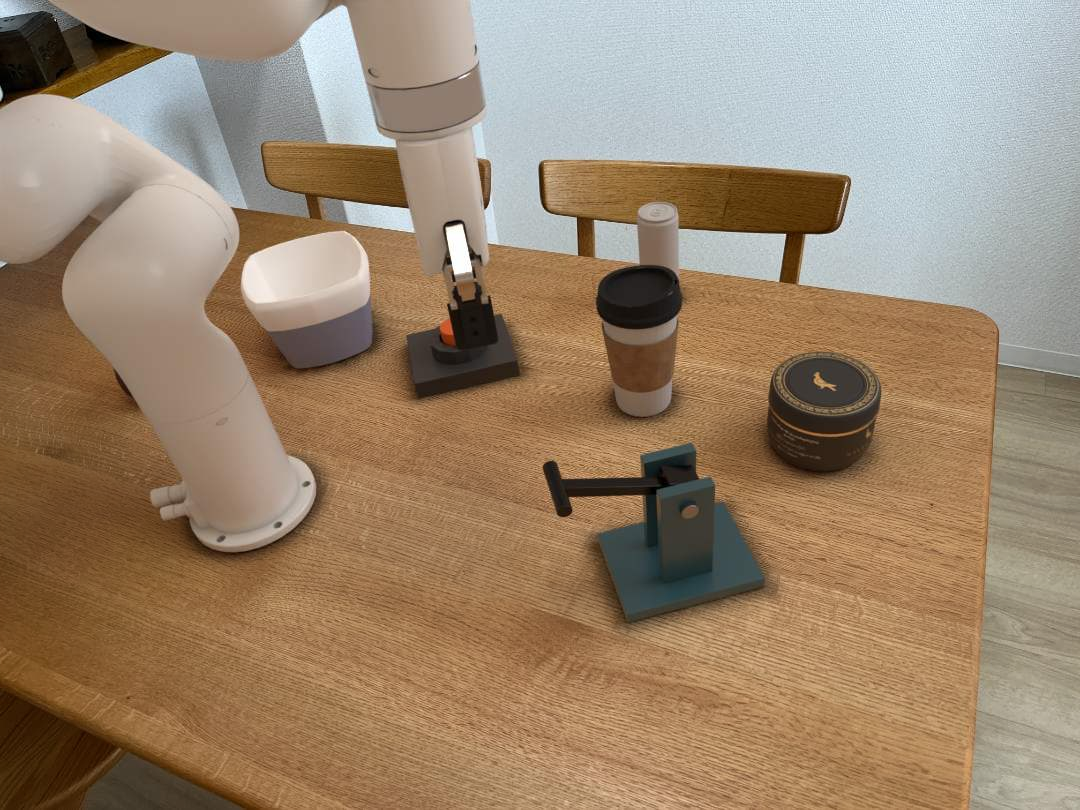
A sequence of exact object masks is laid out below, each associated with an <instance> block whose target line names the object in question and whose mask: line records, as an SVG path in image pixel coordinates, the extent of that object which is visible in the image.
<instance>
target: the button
mask: <svg viewBox="0 0 1080 810" xmlns="http://www.w3.org/2000/svg"><path fill="white" fill-rule="evenodd" d="M439 326H440V333H441V337H442V341H443V343H444V344H446V345H450V346H456V343H455V339H454V335H453V330H452V326H451V321H450V317H449V318H447V319H445V320H443V321H442V322H441V324H440V325H439Z"/></svg>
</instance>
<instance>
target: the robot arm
mask: <svg viewBox="0 0 1080 810" xmlns="http://www.w3.org/2000/svg"><path fill="white" fill-rule="evenodd" d="M48 1H49V2H50V3H51V4H52V5H55V7H56V8H58V9H60V10H61V11H63V12H65V13H66V14H68V15H70V16H71V17H73V18H75V19H76V20H77V21H79V22H81V23H83V24H84V25H87V26H88V27H90V28H92V29H94V30H95V31H98V32H100V33H103V34H105V35H108V36H110V37H113V38H117V39H119V40H122V41H125V42H129V43H132V44H137V45H140V46H144V47H151V48H155V49H159V50H164V51H169V52H174V53H178V54H183V55H188V56H193V57H197V58H203V59H209V60H214V61H224V62H234V63H235V62H236V63H243V62H244V63H248V62H260V61H265V60H269V59H271V58H274V57H277V56H280V55H281V54H284V53H285V52H287V51H288V50H289V49H291V48H292V47H293V46H294V45H295V44H296V43H297V42H298V41H299V40H300V39H301V38H302V37H303V36H304V34H306V32H307V31H308V30H309V29H310V28H311V27H312V25H313V24H314V23H315V22H317V21H318V20H320V19H321V18H324V16H326V15H328V14H329V13H331V12H332V11H334V10H335V9H338V8H339V7H345V8H346V10H347V14H348V18H349V21H350V25H351V29H352V33H353V38H354V42H355V46H356V49H357V54H358V58H359V62H360V65H361V70H362V74H363V78H364V82H365V85H366V89H367V93H368V98H369V101H370V105H371V110H372V115H373V119H374V122H375V127H376V131H377V132H378V133H379V134H380V135H382V136H383V137H386V138H388V139H391V140H394V141H395V147H396V153H397V159H398V164H399V170H400V174H401V178H402V183H403V189H404V192H405V196H406V202H407V204H408V209H409V214H410V218H411V223H412V227H413V232H414V235H415V240H416V244H417V248H418V253H419V258H420V262H421V268H422V271H423V274H424V275H425V276H427V277H429V278H433V277H434V276H436V275H441V273H442V274H443V278H444V282H445V287H446V291H447V296H448V302H447V303H446V307H447V311H448V312H447V313H448V316H449V318H450V321H451V326H452V330H453V335H454V339H455V343H456V348H457V349H458V350H466V349H471V348H476V347H481V346H487V345H492V344H495V343H497V342H498V335H497V329H496V324H495V318H494V315H495V313H494V307H493V302H492V297H491V294H489V295H488V292H487V287H486V282H485V278H484V272H483V268H485V266H486V265H487V264H488V263H489V262H490V253H489V243H488V229H487V221H486V211H485V205H484V204H485V203H484V197H483V196H484V195H483V190H482V182H481V176H480V169H479V162H478V156H477V149H476V143H475V139H474V138H475V137H474V133H473V132H474V131H473V127H474V126H476V125H477V124H479V123H480V122H481V121H483V119H484V118H485V116H486V115H487V113H488V108H487V103H486V97H485V96H486V95H485V89H484V83H483V77H482V69H481V63H480V56H479V50H478V45H477V37H476V31H475V25H474V24H475V23H474V19H473V18H474V17H473V12H472V6H471V0H48ZM88 216H90V217H91V218H93V219H95V220H97V221H99V222H100V223H101V224H99V226H97V228H96V229H95V230H94V231H93V232H92V233H91V234H90V235H89V236H88V237H87V238H86V239H85V240H84V241H83V242H82V244H81V245H80V246H79V248H77V250H76V251H75V252H74V254H73V256H72V257H71V259H70V261H69V262H68V264H67V266H66V268H65V272H64V275H63V277H62V284H61V295H62V301H63V305H64V308H65V310H66V313H67V314H68V316H69V318H70V320H71V321H72V322H73V323H74V325H75V326H76V328H77V329H78V330H79V331H80V332H81V333H82V334H83V336H84V337H85V338H87V340H88V341H89V342H90V343H91V344H92V345H93V346H94V347H95V348H96V349H97V350H98V351H99V352H100V353H101V355H102V356H103V357H104V358H105V359H106V360H107V361H108V363H109V364H110V365H111V366H112V368H113V370H114V369H115V370H116V371H117V373H118V374H119V376H120V377H121V379H122V380H123V382H124V383H125V385H126V386H127V388H128V389H129V391H130V393H131V394H132V396H133V397H134V398H133V397H132V398H133V399H134V401H135V402H136V404H137V406H138V407H139V409H140V411H141V413H142V414H143V416H144V417H145V419H146V420H147V422H148V423H149V426H150V427H151V429H152V430H153V432H154V434H155V435H156V437H157V439H158V441H159V442H160V444H161V446H162V447H163V450H164V451H165V453H166V455H167V456H168V457H169V460H170V461H171V463H172V464H173V466H174V468H175V470H176V471H177V474H178V475H179V476H180V478H181V483H177V484H174V485H166V486H162V487H161V486H160V487H157V488H153V489H151V490H150V493H149V498H150V502H151V504H152V507H154V509H158V508H159V514H160V518H161V519H162V521H163V522H166V521H169V520H173V519H178V518H179V517H183V516H186V517H188V518H189V525H190V527H191V530H192V532H193V533H194V535H195V537H196V538H197V540H198V541H199V542H201V543H202V544H203V545H204V546H205V547H208V548H210V549H211V550H214V551H219V552H223V553H239V552H241V553H242V552H247V551H251V550H255V549H260V548H261V547H265V546H267V545H269V544H272V543H273V542H275V541H277V540H279V539H281V538H283V537H285V536H286V535H287V534H288V533H290V532H291V531H292V530H294V529H295V528H296V527H297V526H298V525H299V524H301V522H302V521H303V520H304V519H305V517H306V516H307V515H308V514H309V512H310V510H311V508H312V506H313V505H314V502H315V499H316V496H317V482H316V479H315V476H314V474H313V472H312V470H311V468H310V467H309V466H308V465H307V464H306V462H304V461H302V460H301V459H299V458H298V457H295V456H292V455H288V454H287V452H286V450H285V448H284V445H283V443H282V441H281V439H280V437H279V435H278V432H277V430H276V428H275V426H274V424H273V421H272V420H271V417H270V415H269V413H268V411H267V408H266V406H265V404H264V402H263V400H262V397H261V395H260V393H259V391H258V388H257V387H256V384H255V382H254V380H253V377H252V375H251V373H250V371H249V369H248V367H247V366H246V363H245V361H244V359H243V356H242V355H241V352H240V351H239V349H238V347H237V346H236V344H235V342H234V341H233V339H231V337H230V336H229V335H228V334H227V333H225V332H224V331H223V330H222V329H221V328H219V327H218V326H216V325H214V324H213V322H211V320H210V319H209V318H208V316H207V314H206V311H205V305H206V301H207V299H208V297H209V296H210V294H211V292H212V291H213V289H214V287H215V285H216V284H217V282H218V281H219V280H220V278H221V277H222V275H223V273H224V272H225V271H226V269H227V268H228V266H229V264H230V262H232V259H233V257H234V256H235V254H236V252H237V249H238V246H239V242H240V226H239V223H238V219H237V216H236V214H235V212H234V210H233V209H232V207H231V205H230V204H229V203H228V202H227V200H226V199H225V198H224V197H223V196H222V195H221V193H219V192H218V190H216V189H215V188H214V187H213V186H211V185H210V184H209V183H208V182H207V181H205V180H203V178H201V177H199V176H198V175H197V174H196V173H194V172H193V171H191V170H189V169H188V168H187V167H185V166H184V165H182V164H180V163H179V162H177V161H176V160H174V159H173V158H171V157H170V156H168V155H167V154H165V153H164V152H163V151H161V150H159V149H158V148H156V147H154V146H153V145H152V144H150V143H149V142H147V141H146V140H144V139H143V138H141V137H139V136H138V135H137V134H135V133H134V132H132V131H130V130H129V129H128V128H126V127H125V126H123V125H122V124H120V123H119V122H117V121H115V120H114V119H113V118H111V117H110V116H108V115H106V114H105V113H103V112H101V111H100V110H98V109H96V108H94V107H92V106H90V105H88V104H86V103H84V102H81V101H78V100H76V99H72V98H69V97H66V96H62V95H57V94H49V93H48V94H47V93H38V94H30V95H26V96H22V97H20V98H17V99H15V100H13V101H11V102H9V103H8V104H6V105H4V106H3V107H1V108H0V262H1V263H5V264H10V265H21V264H28V263H31V262H34V261H36V260H39V259H40V258H42V257H44V256H45V255H47V254H48V253H49V252H51V250H53V249H54V248H56V247H57V246H58V245H59V244H61V242H63V241H64V240H65V238H67V237H68V236H69V235H70V234H71V233H72V232H73V231H74V230H75V229H76V228H77V227H78V226H79V225H80V224H81V223H83V221H84V220H85V219H86V218H87V217H88ZM475 279H476V281H475ZM454 283H455V285H454ZM179 502H181V503H179Z"/></svg>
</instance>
